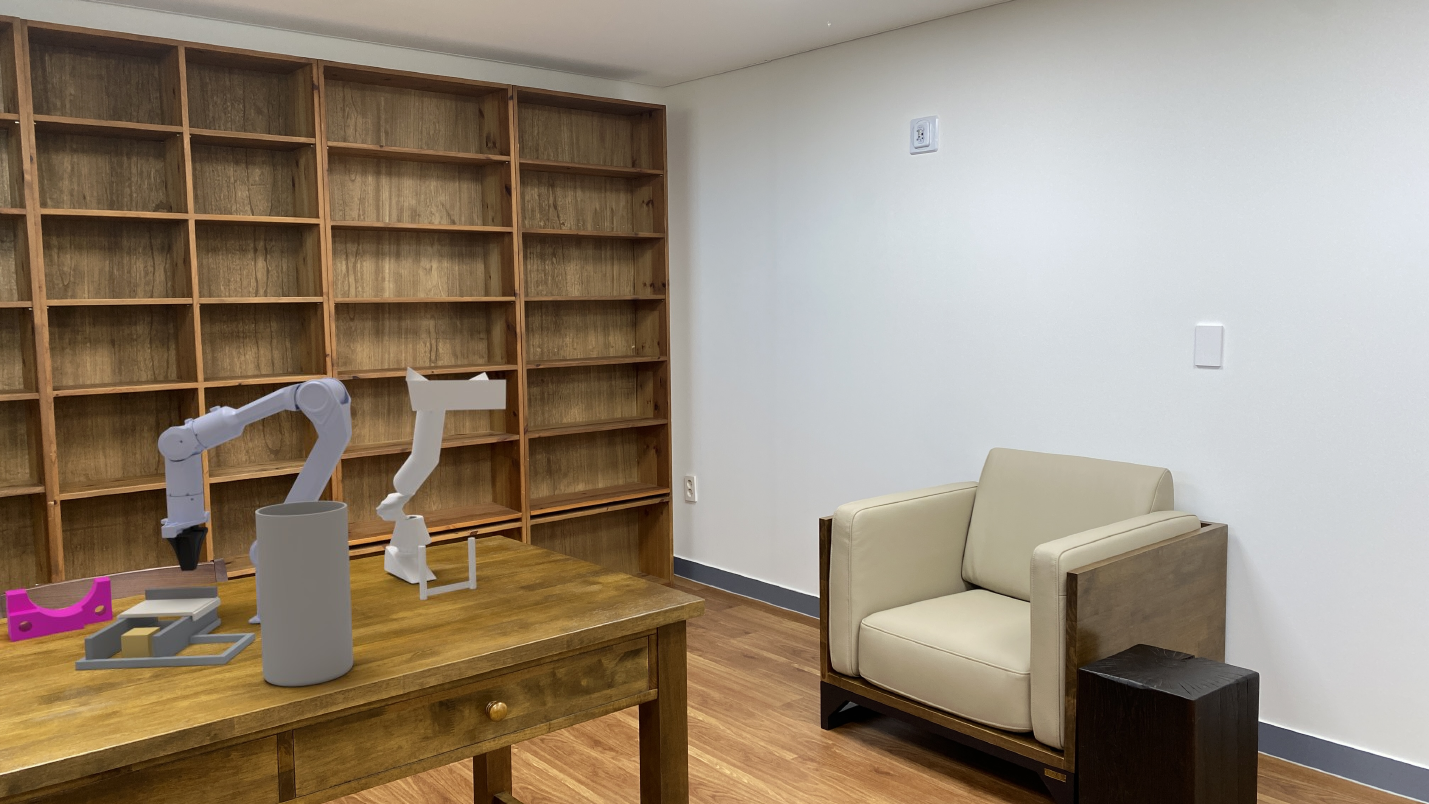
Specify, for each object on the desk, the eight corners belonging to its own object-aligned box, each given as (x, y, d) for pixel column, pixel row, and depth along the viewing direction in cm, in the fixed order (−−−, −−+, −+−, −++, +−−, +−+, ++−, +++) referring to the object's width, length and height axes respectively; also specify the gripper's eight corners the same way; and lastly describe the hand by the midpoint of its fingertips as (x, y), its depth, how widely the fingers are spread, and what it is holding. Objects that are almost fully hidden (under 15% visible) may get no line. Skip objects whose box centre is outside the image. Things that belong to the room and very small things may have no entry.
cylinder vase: (367, 672, 146) (361, 507, 144) (282, 695, 137) (274, 519, 135) (332, 653, 155) (326, 498, 153) (250, 673, 146) (242, 508, 144)
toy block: (11, 642, 163) (8, 598, 163) (8, 634, 168) (5, 591, 168) (115, 624, 173) (112, 582, 172) (109, 616, 178) (106, 576, 177)
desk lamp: (338, 584, 198) (329, 363, 194) (423, 569, 210) (415, 360, 207) (419, 624, 170) (411, 366, 167) (512, 603, 182) (505, 363, 179)
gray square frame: (276, 623, 172) (275, 598, 171) (224, 664, 150) (223, 635, 150) (146, 627, 170) (145, 602, 170) (75, 669, 149) (73, 640, 148)
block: (161, 651, 157) (160, 627, 157) (148, 659, 153) (147, 634, 153) (135, 652, 157) (134, 628, 157) (122, 660, 153) (120, 635, 153)
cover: (220, 604, 171) (219, 585, 170) (195, 620, 161) (194, 601, 161) (147, 606, 170) (146, 588, 169) (116, 623, 160) (115, 603, 160)
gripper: (180, 488, 178) (183, 561, 179) (141, 501, 164) (145, 581, 165) (220, 486, 179) (223, 559, 180) (184, 500, 164) (189, 579, 165)
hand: (189, 569), depth 172 cm, fingers closed
